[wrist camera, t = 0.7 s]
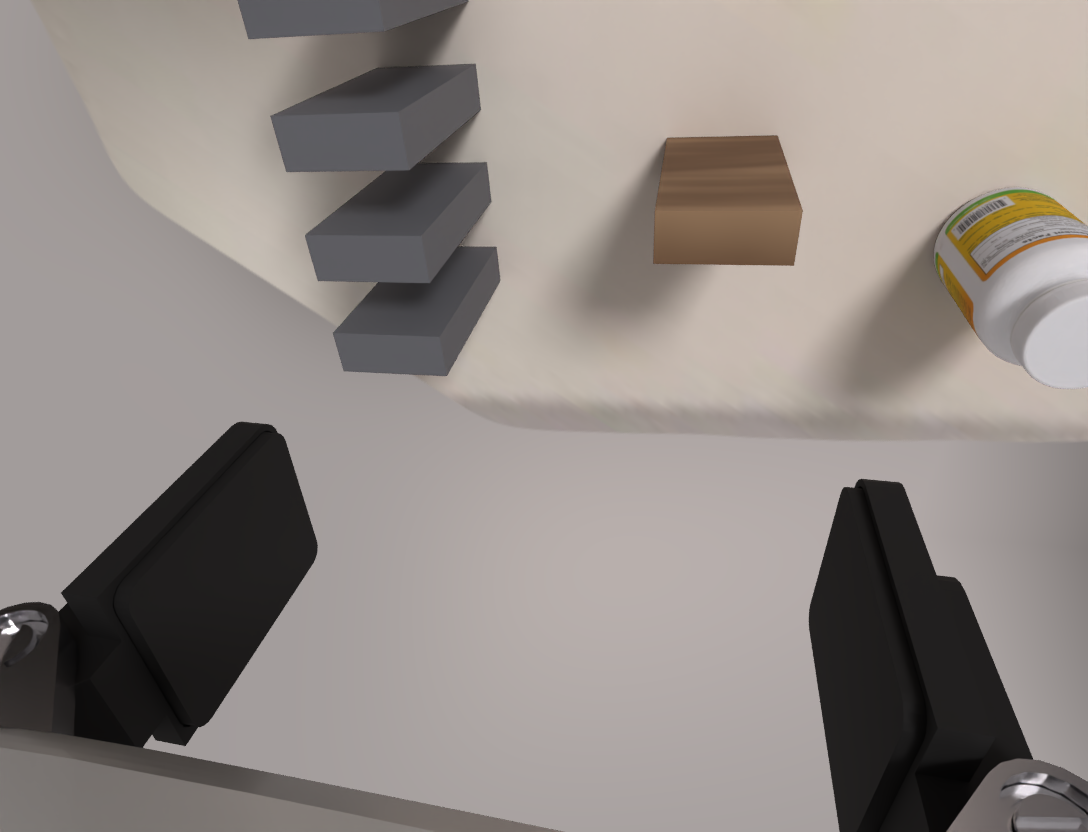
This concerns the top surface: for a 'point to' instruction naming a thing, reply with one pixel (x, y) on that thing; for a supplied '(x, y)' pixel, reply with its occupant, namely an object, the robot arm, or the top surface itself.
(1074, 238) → the supplement bottle
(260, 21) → the domino
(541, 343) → the top surface
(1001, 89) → the top surface
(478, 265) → the domino
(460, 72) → the domino
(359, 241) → the domino
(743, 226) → the domino
